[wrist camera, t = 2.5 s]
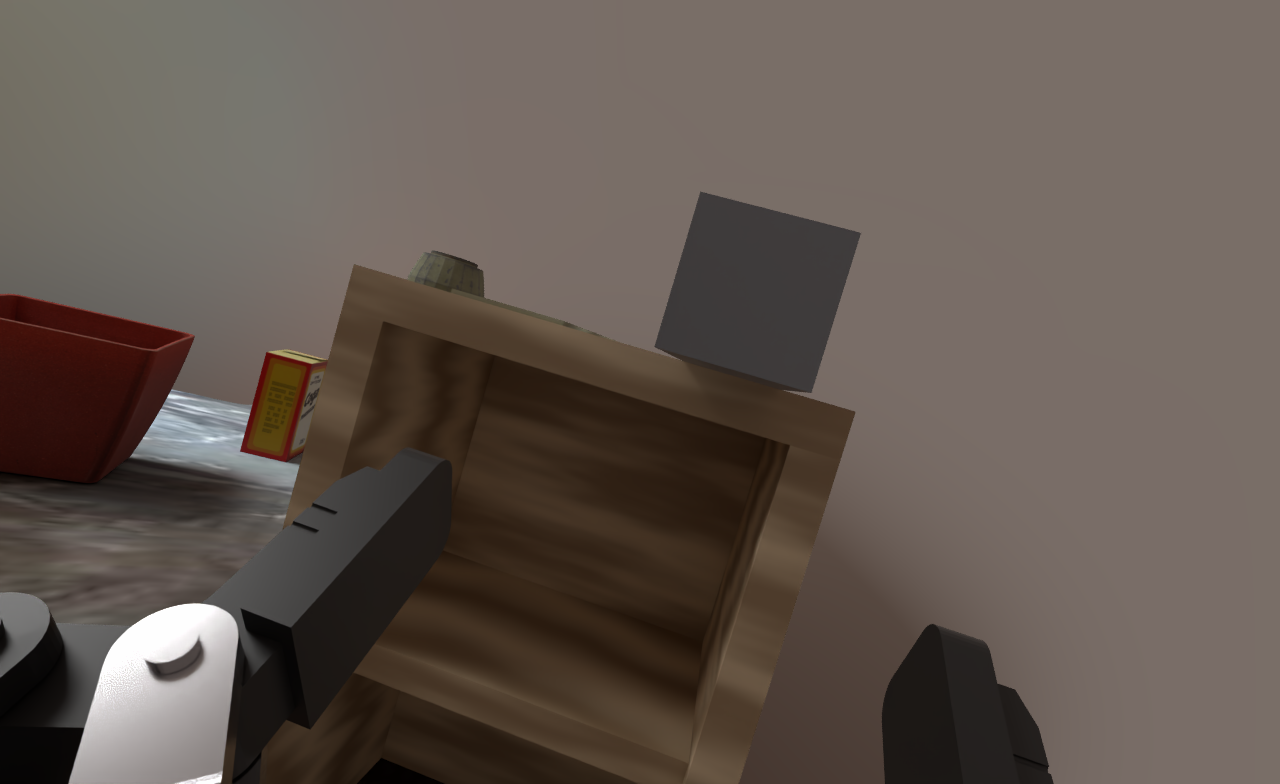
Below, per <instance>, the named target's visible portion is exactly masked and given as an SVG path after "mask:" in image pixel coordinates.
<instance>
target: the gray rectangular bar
mask: <svg viewBox="0 0 1280 784" xmlns="http://www.w3.org/2000/svg"><path fill="white" fill-rule="evenodd" d="M859 238H860V233H859V232H855V231H852V230H848V229H844V228H840V227H836V226H832V225H828V224H824V223H820V222H816V221H812V220H809V219H804V218H801V217H797V216H793V215H789V214H785V213H781V212H778V211H773V210H770V209H766V208H762V207H758V206H754V205H750V204H746V203H742V202H739V201H734V200H731V199H727V198H723V197H719V196H715V195H711V194H707V193H703V192H700V195H699V199H698V202H697V205H696V209H695V212H694V215H693V219H692V222H691V225H690V229H689V232H688V236H687V239H686V242H685V246H684V249H683V252H682V256H681V260H680V263H679V266H678V270H677V273H676V276H675V279H674V283H673V286H672V290H671V293H670V297H669V300H668V303H667V307H666V310H665V313H664V317H663V320H662V323H661V327H660V330H659V333H658V337H657V340H656V344H655V347H656V348H658V349H660V350H662V351H664V352H666V353H668V354H670V355H672V356H674V357H676V358H678V359H680V360H682V361H684V362H688V363H691V364H695V365H698V366H701V367H705V368H708V369H712V370H715V371H718V372H722V373H725V374H729V375H732V376H735V377H739V378H742V379H746V380H749V381H752V382H756V383H759V384H763V385H766V386H769V387H773V388H776V389H780V390H788V391H799V392H808V393H811V392H812V389H813V385H814V383H815V379H816V376H817V373H818V369H819V366H820V363H821V360H822V356H823V354H824V350H825V347H826V344H827V340H828V337H829V334H830V331H831V328H832V324H833V321H834V318H835V315H836V311H837V308H838V305H839V302H840V299H841V295H842V292H843V289H844V286H845V283H846V279H847V276H848V273H849V269H850V267H851V263H852V260H853V257H854V254H855V250H856V247H857V244H858V241H859Z"/></svg>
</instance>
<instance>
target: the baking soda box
mask: <svg viewBox="0 0 1280 784" xmlns="http://www.w3.org/2000/svg"><path fill="white" fill-rule="evenodd" d="M327 363H328V360H326V359H323V358H319V357H315V356H311V355H308V354H304V353H300V352H297V351H293V350H280V351H272V352H266V356H265V359H264V363H263V367H262V371H261V375H260V378H259V383H258V386H257V390H256V394H255V397H254V401H253V405H252V409H251V412H250V416H249V420H248V424H247V427H246V431H245V435H244V439H243V442H242V446H241V450H240V452H245V453H249V454H253V455H258V456H262V457H266V458H270V459H275V460H279V461H283V462H287V461H288V460H290V459H292V458H293V457H295V456H297V455H298V454H300V453H302V452H303V451H304V448H305V444H306V441H307V437H308V433H309V429H310V426H311V422H312V418H313V415H314V411H315V407H316V403H317V400H318V396H319V392H320V389H321V385H322V381H323V378H324V374H325V370H326V366H327Z"/></svg>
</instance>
